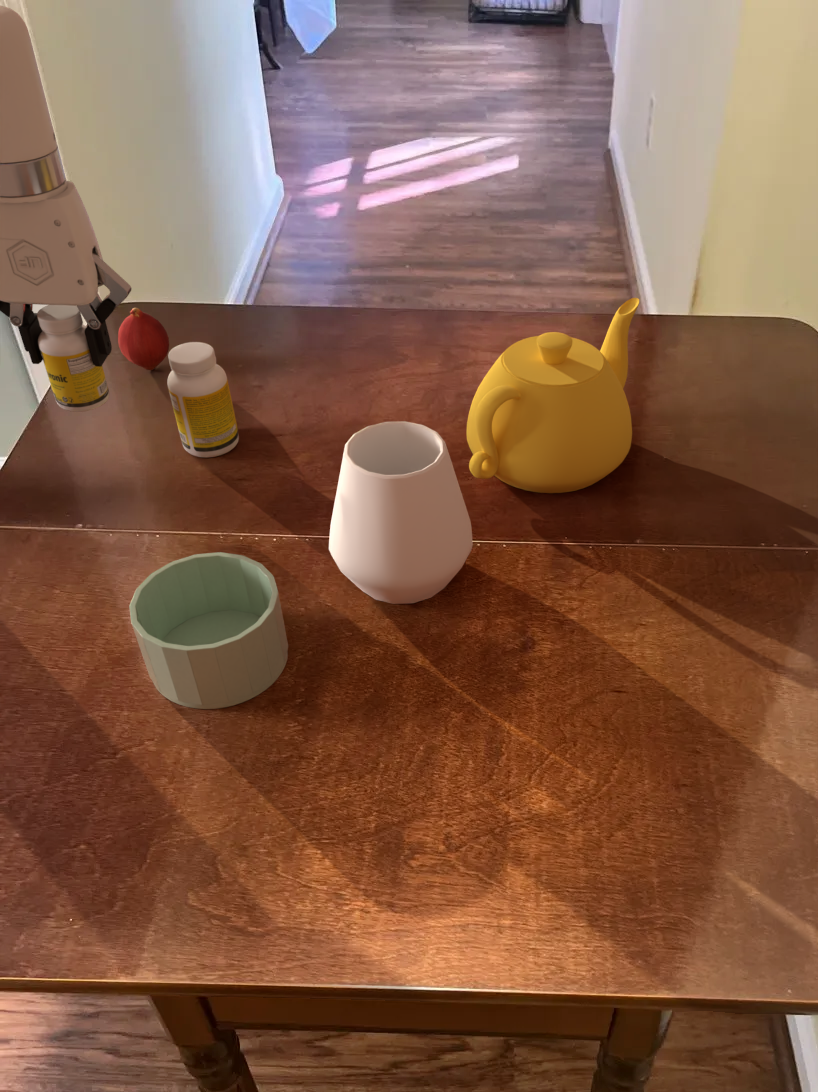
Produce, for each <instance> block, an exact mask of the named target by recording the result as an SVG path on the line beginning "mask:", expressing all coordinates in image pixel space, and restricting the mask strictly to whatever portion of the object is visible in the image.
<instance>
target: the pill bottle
mask: <svg viewBox="0 0 818 1092" xmlns="http://www.w3.org/2000/svg"><path fill="white" fill-rule="evenodd" d="M167 358H168V362H169V366H170V370H171V371H170V372H169V374H168V376H167V381H166V383H167V385H166V386H167V389H168V393H169V398H170V401H171V405H172V408H173V413H174V416H175V417H174V418H175V422H176V425H177V429H178V433H179V438H180V440H181V445H182V448H183V449H184V450H185V451H186V452H187V453H188V454H190V455H192V456H194V457H198V458H208V459H209V458H215V457H219V456H223V455H225V454H227V453H229V452H230V451H231V450H233V449H234V448H235V447H236V446H237V445H238V443H239V440H240V436H239V428H238V423H237V419H236V414H235V408H234V405H233V400H232V396H231V395H232V394H231V390H230V385H229V379H228V376H227V373H226V371H225V370H224V368H223V367H222V366H221V365H219V364H218V363H217V357H216V352H215V349H214V347H213V346H212V345H210V344H208V343H206V342H201V341H189V342H184V343H181V344H179V345H176V346H174V347H172V348H171V349H170V350H169V351H168V353H167Z"/></svg>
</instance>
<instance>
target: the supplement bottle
mask: <svg viewBox="0 0 818 1092" xmlns="http://www.w3.org/2000/svg"><path fill="white" fill-rule="evenodd" d="M36 313H37V318H38V321H39V325H40V327H41V329H42V332H41V333H40V335H39V337H38V345H39V349H40V352H41V355H42V358H43V360H42V362H43V364H44V368H45V372H46V374H47V377H48V380H49V384H50V388H51V390H52V394H53V397H54V400H55V402H56V404H57V406H59V408H60V409H63V410H64V411H68V412H73V413H83V412H89V411H93V410H96V409H98V408H100V407H102V406H103V405H105V404H106V403H107V402H108V400H109V398H110V389H109V386H108V382H107V377H106V375H105V371H104V367H103V365H102V366H101V367H99V366H95V365H93V362H92V359H91V355H90V351H89V347H88V344H87V340H86V336H85V329H86V327H87V326H88V325H85V324H84V321H83V316H82V314H81V312H80V311H79V309H78V308H77V306H66V305H44V306H42V307H41V308H40V309H39V310H38V311H37V312H36Z"/></svg>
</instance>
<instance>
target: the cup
mask: <svg viewBox="0 0 818 1092" xmlns="http://www.w3.org/2000/svg"><path fill="white" fill-rule="evenodd" d="M330 519H331V520H330V525H329V528H330V529H329V539H328V551H329V553H330V555H331V557H332V559H333V561H334V562H335V564H336V566H337V568H338V570H339V571H340V572H341V573H342V574H343V575H344V576H345V577H346V578H347V579H348V580H349V581H350V582H351V583H352V584H354V585H355V587H357V588H358V589H359V590H361V591H362V592H363V593H365V594H366V595H368V596H369V597H370V598H372V599H374V600H375V601H379V602H384V603H387V604H392V605H402V604H403V605H404V604H415V603H418V602H421V601H425V600H428V599H431V598H432V597H434V596H436V595H437V594H438V593H440V592H441V591H442V590H444V589H445V588H446V587H447V586H448V584H449V583H450V582H452V580H453V579H454V578H455V576H456V575H457V574H458V573H459V572H460V571H461V569H462V568H463V566H464V564H465V563H466V561H467V560H468V557H469V556H470V554H471V552H472V549H473V546H474V544H473V543H474V541H473V531H472V523H471V517H470V516H469V512H468V508H467V506H466V502H465V500H464V496H463V493H462V490H461V487H460V484H459V481H458V478H457V475H456V472H455V468H454V465H453V461H452V459H451V456H450V453H449V450H448V446H447V443H446V441H445V440H444V439H443V437H442V436H441V435H440V434H439V432H438V431H436V430H434V429H433V428H430V427H428V426H426V425H424V424H421V423H415V422H412V421H411V422H410V421H405V420H402V421H401V420H399V421H383V422H380V423H375V424H372V425H367V426H366V427H364V428H361V429H360V430H359V431H357V432H354V433H353V434H352V436H350V438H349V439H348V440H347V442H346V443H345V444H344V448H343V454H342V460H341V464H340V472H339V476H338V482H337V487H336V493H335V497H334V503H333V509H332V515H331V518H330Z"/></svg>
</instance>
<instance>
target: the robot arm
mask: <svg viewBox="0 0 818 1092" xmlns="http://www.w3.org/2000/svg"><path fill="white" fill-rule="evenodd" d="M60 153H61V152H60V149H59V145H58V141H57V137H56V134H55V130H54V126H53V122H52V119H51V114H50V111H49V106H48V102H47V98H46V94H45V91H44V85H43V82H42V78H41V74H40V70H39V66H38V63H37V59H36V55H35V50H34V46H33V43H32V40H31V36H30V32H29V29H28V26H27V24H26V22H25V20H24V19H23V17H22V16H21V15H20V14H19V13H18V12H16V11H15V10H14V9H12V8H10V7H7V6H3V5H0V312H1V313H2V314H4V315H5V316H6V317H7V318H9V321H10V323H11V325H12V326H15V327H17V329H18V331H19V335H20V338H21V341H22V344H23V348H24V350H25V352H26V353H27V352H28V355H29V358H30V361H31V363H32V364H33V365H40V364H41V363H42V362H43V358H42V355H41V352H40V349H39V345H38V337H39V335H40V333H41V332H42V329H41V327H40V325H39V321H38V318H37V313H38V312H34V311H33V309H34V308H33V307H34V305H40V306H41V305H43V306H47V305H66V306H77V308H78V309H79V311H80V313H81V317H82V318H83V319H84V320H85V322H86V324H87V325H86V326H87V327H86V329H85V336H86V340H87V344H88V347H89V351H90V355H91V359H92V362H93V365H95V366H99V367H101V366H102V367H103V365H104V363H105V361H106V360H107V358H108V357H109V355H110V354H111V353H112V349H113V348H112V347H113V346H112V341H111V338H110V334H109V330H108V326H107V325H108V324H107V321H106V320H107V319H108V318H109V317H110V316H111V315H112V313H113V312H114V311H115V309H117V308H118V307H119V306H120V305H121V304H122V303H123V302H124V301H125V299H127V298H128V296H129V295H130V294H131V292H132V286H131V285H130V284H129V283H128V282H127V281H126V280H125V279H123V277H122V276H120V274H118V273H117V272H116V271H115V270H114V269H113V268H112V267H111V266H110V265H109V264H107V263H106V262H105V260H104V259H103V256H102V255H103V254H102V252H101V248H100V245H99V242H98V239H97V236H96V233H95V230H94V227H93V224H92V222H91V219H90V216H89V213H88V211H87V209H86V206H85V204H84V202H83V200H82V198H81V196H80V194H79V191H78V189H77V188H76V185H75V184H74V182H73V181H71V180H67V177H66V173H65V169H64V165H63V162H62V157H61V154H60ZM102 286H105V287H106V288H107V289H108V291H109V293H108V294H106V296H105V297H104V298H103V300H102V297H101V296H100V294H99V288H100V287H102Z"/></svg>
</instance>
